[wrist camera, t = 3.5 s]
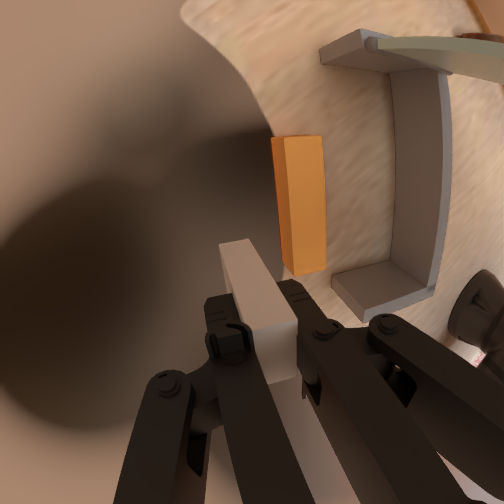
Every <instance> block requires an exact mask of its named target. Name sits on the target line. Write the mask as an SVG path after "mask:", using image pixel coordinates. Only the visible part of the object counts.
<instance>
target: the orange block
mask: <svg viewBox="0 0 504 504" xmlns="http://www.w3.org/2000/svg"><path fill="white" fill-rule="evenodd" d="M270 141H271V150H272V158H273V168H274V178H275V188H276V199H277V209H278V221H279V233H280V245H281V256H282V257H281V258H282V261H283V263H284V264H285V265H286V267H287V268H288V269H289V271H290V272H291V273H292V275H293V276H294V277H296V276H300V275H305V274H309V273H313V272H317V271H321V270H325V269H326V203H325V180H324V163H323V148H322V136H321V135H297V136H284V137H272V138H270Z"/></svg>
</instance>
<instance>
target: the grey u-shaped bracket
mask: <svg viewBox="0 0 504 504" xmlns="http://www.w3.org/2000/svg"><path fill="white" fill-rule="evenodd" d="M369 36H373V37H377V38H381V39H382V38H394V37H391V36H388V35H384V34H380V33H377V32H373V31H369V30H364V29H358V30H356V31H354V32H351V33H349V34H347V35H345V36H343V37H341V38H339V39H337V40H336V41H334V42H332V43H330V44H328V45H326V46H324V47H323V48H321V49H319V52H320V59H321V64H326V65H337V66H346V67H353V68H361V69H367V70H373V71H379V72H384V73H389V74H390V82H391V90H392V100H393V111H394V125H395V149H396V185H395V210H394V225H393V236H392V247H391V255H390V260H388V261H384V262H380V263H377V264H373V265H369V266H366V267H362V268H358V269H354V270H350V271H346V272H342V273H338V274H334V275H332V279H331V288H332V289H333V290H334V291H335V292H336V293H337V295H338V296H339V297H340V298H341V299H342V300H343V301H344V302H345V304H346V305H347V306H348V307H349V308H350V309H351V310H352V311H353V313H354V314H355V315H356V316H357V317H358V318H359V320H360V321H361V322H362V323H365V322H368V321H370V320H371V319H372V318H373V317H374V316H376V315H378V314H384V313H388V314H390V313H392V312H395V311H397V310H400V309H402V308H405V307H407V306H410V305H412V304H415V303H417V302H419V301H422V300H424V299H426V298H429V297H431V296H433V294H434V290H435V286H436V282H437V277H438V273H439V268H440V263H441V258H442V253H443V248H444V242H445V236H446V229H447V222H448V213H449V204H450V193H451V178H452V121H451V106H450V96H449V87H448V79H447V75H445V74H443V73H440V72H437V71H434V70H431V69H428V68H425V67H422V66H419V65H416V64H412V63H409V62H405V61H402V60H398V59H394V58H390V57H385V56H381V55H377V54H372V53H369V52H367V50H366V48H365V41H366V39H367V37H369Z"/></svg>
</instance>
